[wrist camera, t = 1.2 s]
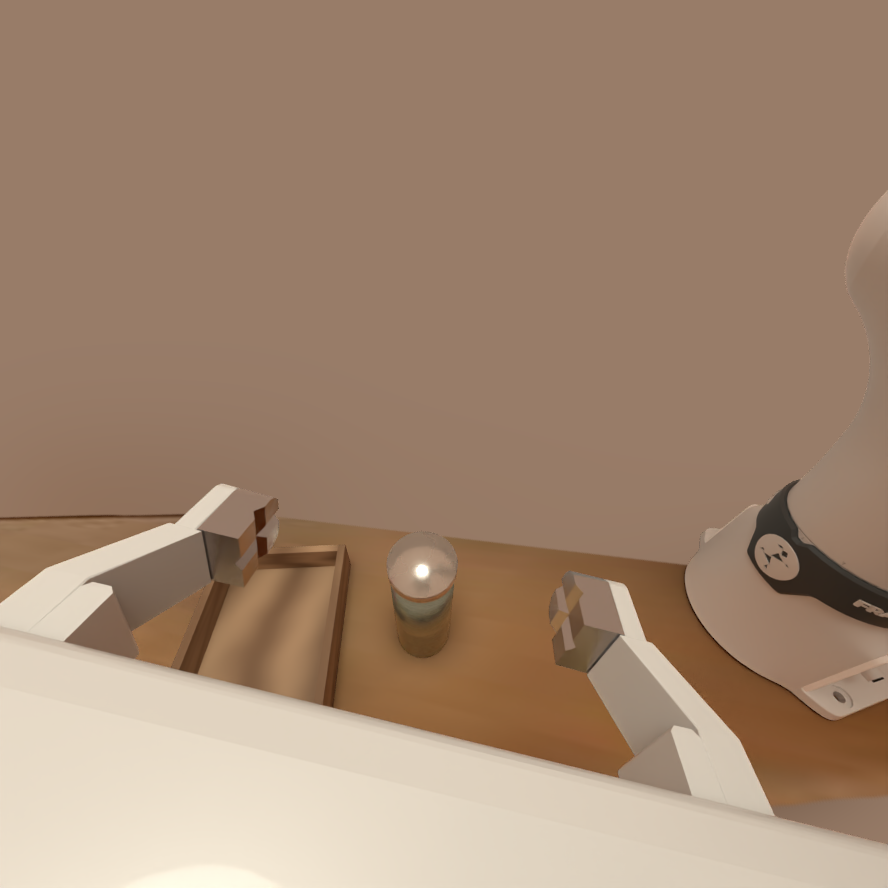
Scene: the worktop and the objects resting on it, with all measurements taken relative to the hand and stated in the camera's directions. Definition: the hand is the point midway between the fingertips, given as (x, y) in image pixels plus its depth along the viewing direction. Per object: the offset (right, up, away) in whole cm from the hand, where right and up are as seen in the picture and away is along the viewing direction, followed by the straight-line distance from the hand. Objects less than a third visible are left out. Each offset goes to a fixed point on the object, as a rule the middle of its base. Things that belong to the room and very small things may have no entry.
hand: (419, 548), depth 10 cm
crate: (-15, -15, +25) cm, 33 cm away
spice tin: (-1, -15, +26) cm, 30 cm away
